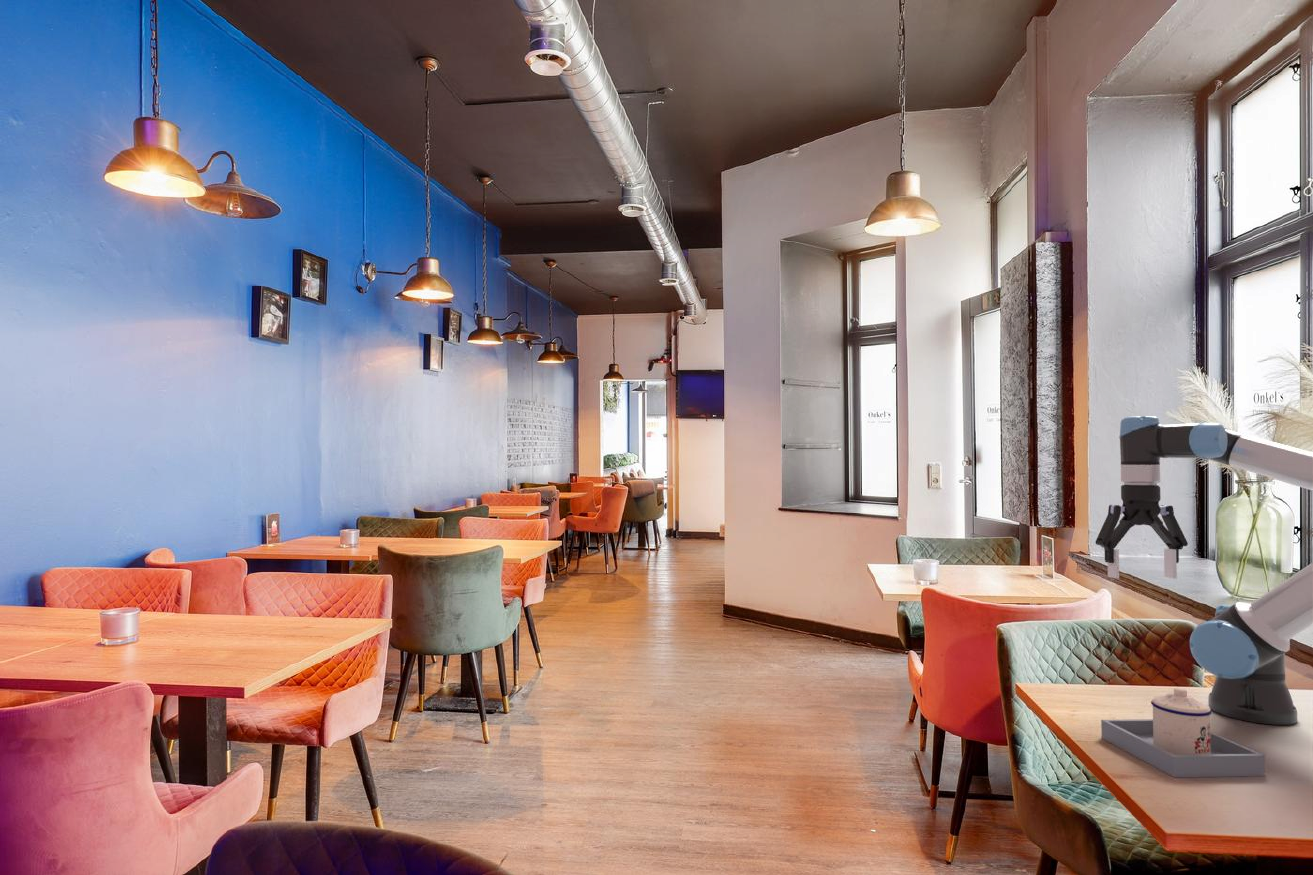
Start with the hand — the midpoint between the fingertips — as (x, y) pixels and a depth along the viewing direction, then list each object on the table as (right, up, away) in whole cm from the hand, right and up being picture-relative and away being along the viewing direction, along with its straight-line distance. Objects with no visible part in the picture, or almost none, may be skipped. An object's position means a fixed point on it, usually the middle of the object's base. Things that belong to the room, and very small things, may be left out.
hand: (1142, 577), depth 166 cm
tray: (-13, -27, -30) cm, 43 cm away
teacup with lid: (-12, -27, -30) cm, 42 cm away
